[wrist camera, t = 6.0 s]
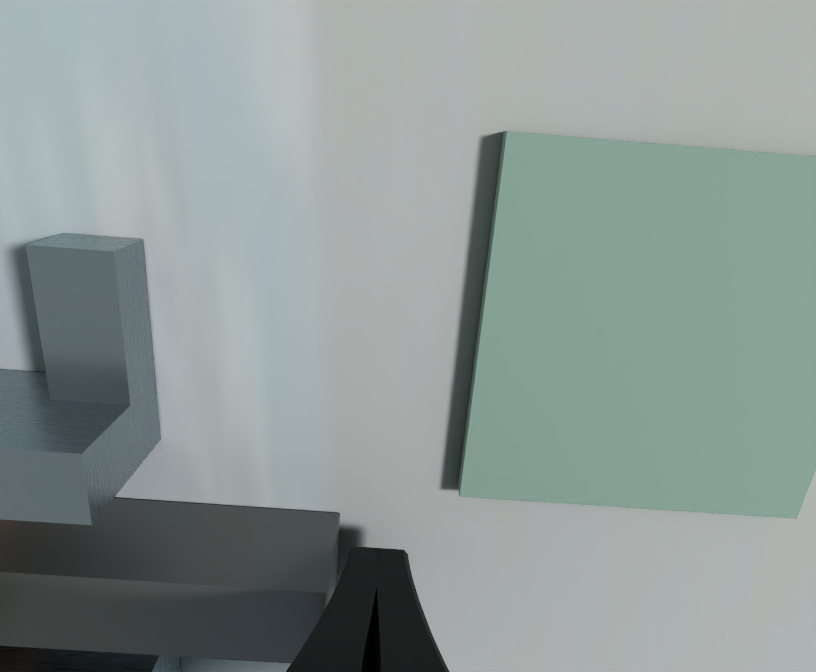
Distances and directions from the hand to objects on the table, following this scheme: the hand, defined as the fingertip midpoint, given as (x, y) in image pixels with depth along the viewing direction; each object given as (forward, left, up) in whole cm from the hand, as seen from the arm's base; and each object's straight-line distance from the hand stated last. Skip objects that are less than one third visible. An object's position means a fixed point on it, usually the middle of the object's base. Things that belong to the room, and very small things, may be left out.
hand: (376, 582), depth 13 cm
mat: (+6, -6, -1) cm, 8 cm away
